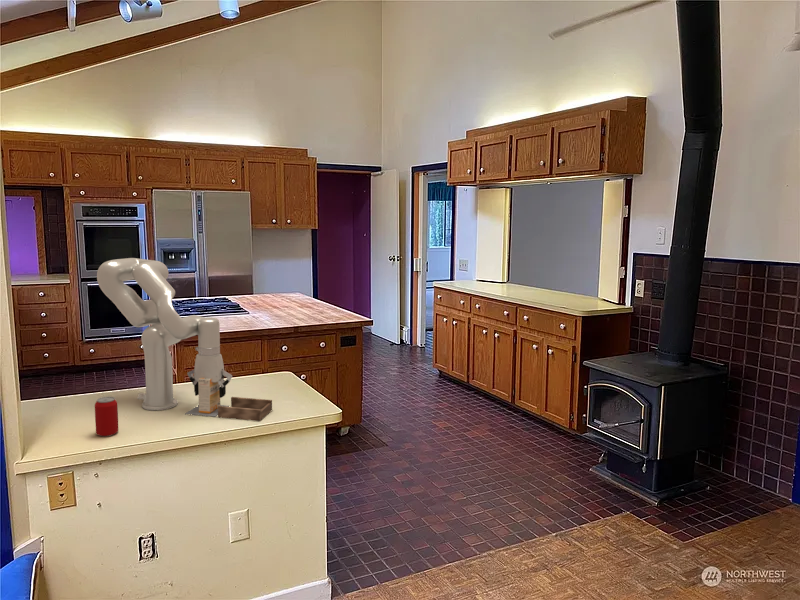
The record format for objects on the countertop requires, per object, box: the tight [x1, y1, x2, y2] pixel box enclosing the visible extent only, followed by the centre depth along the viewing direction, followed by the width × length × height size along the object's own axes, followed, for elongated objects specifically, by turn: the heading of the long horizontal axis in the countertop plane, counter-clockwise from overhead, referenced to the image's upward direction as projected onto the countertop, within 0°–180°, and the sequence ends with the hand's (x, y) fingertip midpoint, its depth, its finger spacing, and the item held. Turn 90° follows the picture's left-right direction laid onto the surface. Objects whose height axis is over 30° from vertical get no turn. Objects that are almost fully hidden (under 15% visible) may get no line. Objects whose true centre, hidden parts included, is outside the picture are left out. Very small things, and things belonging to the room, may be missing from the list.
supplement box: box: [198, 378, 221, 414], centre depth 219 cm, size 8×5×13 cm, turn 169°
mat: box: [184, 404, 230, 418], centre depth 220 cm, size 12×12×1 cm
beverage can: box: [94, 396, 119, 437], centre depth 194 cm, size 7×7×12 cm
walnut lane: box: [217, 396, 273, 422], centre depth 218 cm, size 16×12×4 cm
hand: (210, 395), depth 219 cm, fingers open, 9 cm apart
